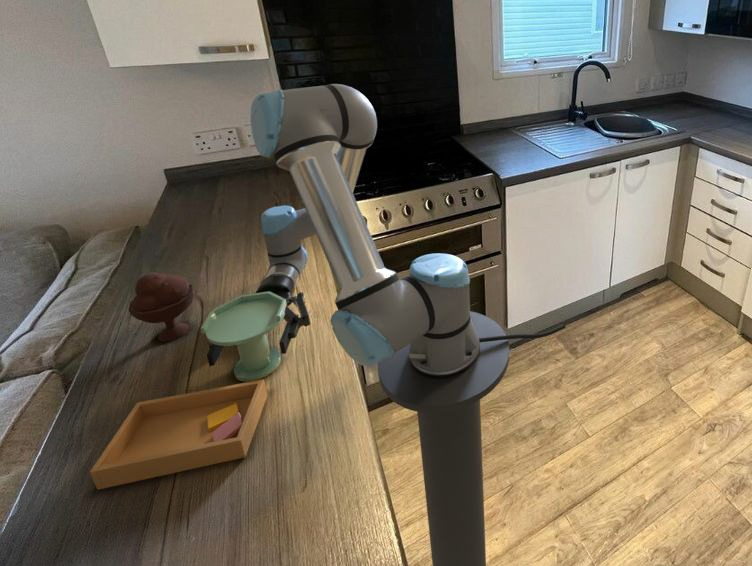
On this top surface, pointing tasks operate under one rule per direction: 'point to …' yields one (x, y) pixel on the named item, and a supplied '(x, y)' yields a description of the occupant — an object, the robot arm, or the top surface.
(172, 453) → the box
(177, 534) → the top surface
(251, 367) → the green pedestal stand
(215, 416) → the sachet
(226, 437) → the sachet
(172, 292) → the ice cream bowl
